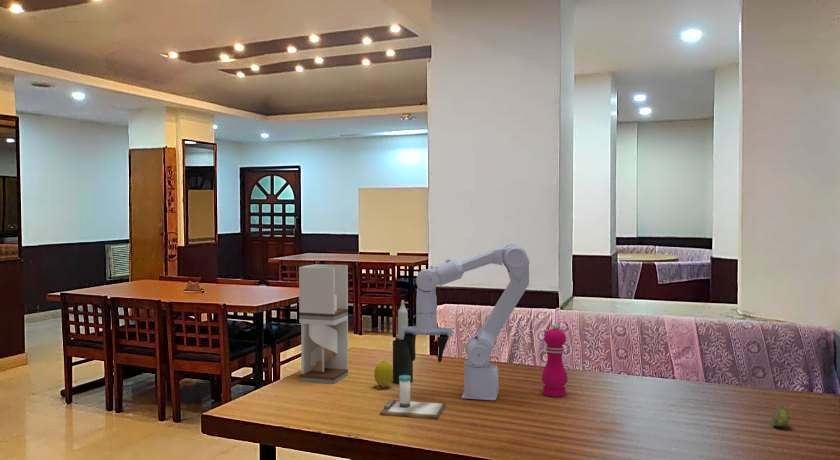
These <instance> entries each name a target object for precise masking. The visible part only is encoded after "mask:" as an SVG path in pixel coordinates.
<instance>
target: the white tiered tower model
mask: <svg viewBox="0 0 840 460" xmlns="http://www.w3.org/2000/svg"><path fill="white" fill-rule="evenodd" d="M348 266H349V265H348V264H317V263H316V264H310V265H303V266H299V267H298V287H299V289H298V290H299V291H298V299H299V300H298V303H299V304H298V307H299V309H298V310H299V311H298V312H299V315H298V317H299V321H298V322H299V324H300V325H301V326H300V331H301V332H300V333H301V335H300V338H301V339H300V340H301V341H300V342H301V346H300V349H301V350H300V351H301V352H300V353H301V354H300V355H301V357H300V358H301V363H300V364H301V371H300V372H301V373H300V374H299V382H304V383H317V384H328V385H329V384H330V385H335V384H337V383H338V382H340V381H341V380H343V379H345V378H346V377H348V376H349V304H348V303H349V291H348V289H349V288H348V287H349V282H348V281H349V279H348V278H349V275H348V274H349V273H348V272H349V271H348V270H349V267H348Z"/></svg>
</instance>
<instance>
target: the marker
mask: <svg viewBox="0 0 840 460" xmlns="http://www.w3.org/2000/svg"><path fill="white" fill-rule="evenodd" d="M410 380H411V376H409V375H401V376H399V383H400V384H399V400H400V407H402V408H407V407H410V401H411V383H410Z"/></svg>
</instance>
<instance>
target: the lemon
mask: <svg viewBox="0 0 840 460" xmlns="http://www.w3.org/2000/svg"><path fill="white" fill-rule="evenodd" d="M373 374H374V381H375V382H376V383H377V385H378V386H380V387H382V388H383V389H384V388H386V387H387V386H388V385H390V384H391V383H392V382H393V366H392V365H391V363H389V362H387V361H386V360H382V361H381V362H378V363H377V364H376V366H375V367H374V373H373Z"/></svg>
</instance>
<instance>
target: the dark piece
mask: <svg viewBox="0 0 840 460" xmlns="http://www.w3.org/2000/svg"><path fill="white" fill-rule="evenodd" d="M408 314H409V313H408V310H407V309H406V305H405V300H404V299H402V300H401V304H400V307H399V309H398V311H397V337H395V339H393V340H392V369H393V379H392V383H393V384H394V383H396V385H400V383H399V376H401V375H409V376H411V380H410V384H411V382H412V383H413V382H414V374H413V373H414V361H411V356H410V352H409V349H408V346H407V344H406V342H405V340H404V335H405V334H401V327H403V326H404V327H409V326H408V325H409V323H408V321H409V320H408V319H409V317H408Z"/></svg>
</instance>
